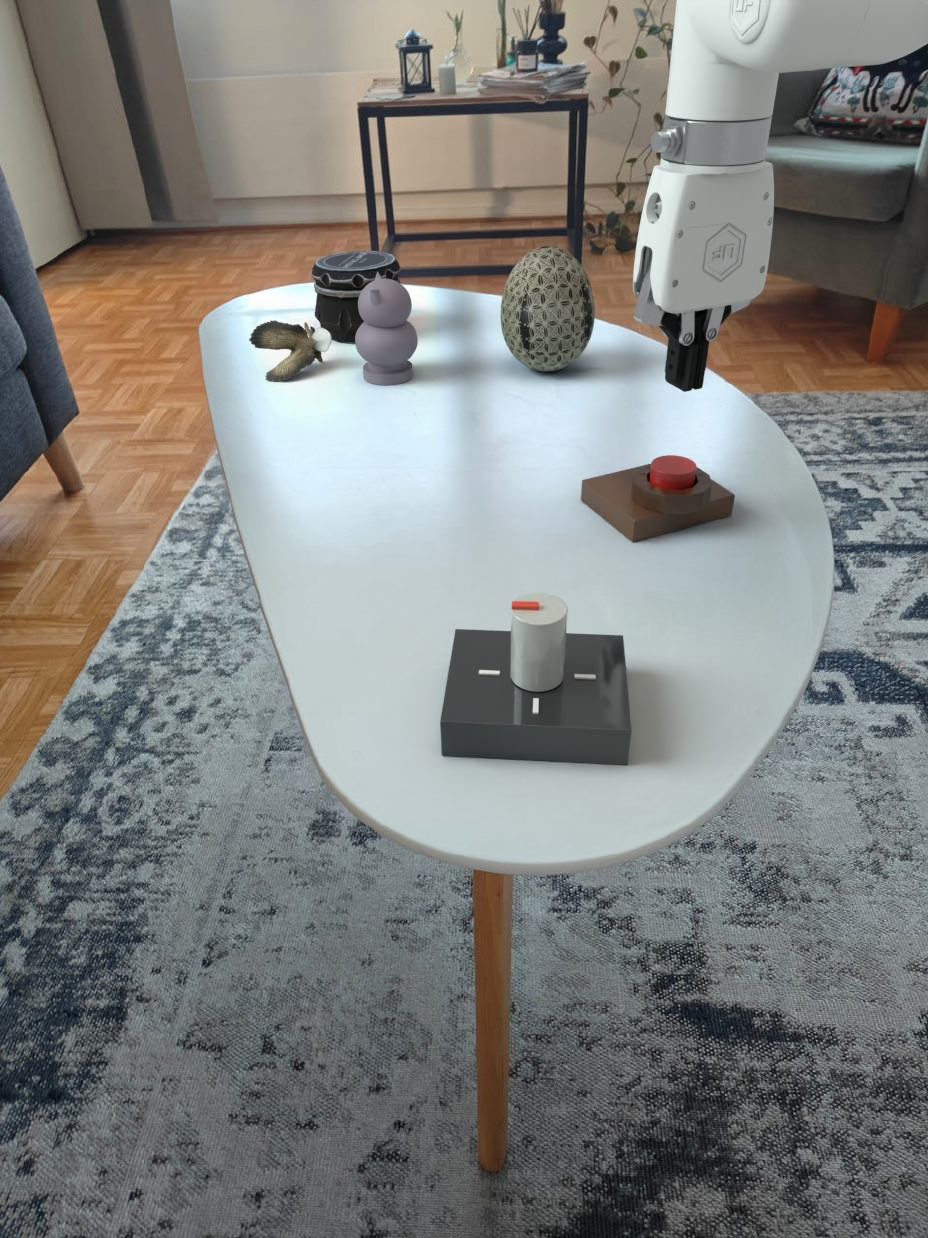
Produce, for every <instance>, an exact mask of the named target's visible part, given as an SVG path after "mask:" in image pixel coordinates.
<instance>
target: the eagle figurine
mask: <svg viewBox="0 0 928 1238" xmlns="http://www.w3.org/2000/svg"><path fill="white" fill-rule="evenodd" d="M248 341H249V342H250V344H251V345H253V346H254V348H255V349H262V350H273V351H274V350H275V351H279V350H289V351H290V353H289V354H288V356H287V357H285V358H284V359H283V360H281V361H280V362H279V363H278V364H277V365H276V366H275V367H274V368H273V367H272V369H270V370H268V371H267V372H265V375H264V377H265V380H266V381H268V382H271V381H272V382H277V381H278V382H281V381H286V380H287V381H288V380H289V379H291V378H293V377H294V376H297V373H299V372H300V371H301V370H303V369H304V368H306V367H309V366H312V364H313V363H314V362H315V361H316V360H317V362H318V363H321V364H323V363H324V360H323V357H322V353H327V351H328V350H329V348H330V346H331V344H332V338H331V335H330V332H328V331H327V330H326V329H324V328H321V326H320V327H317V328H315V327H314V326H309V324H308V323H307V321H304V323H303V326H302V325H300V323H296V324H290V323H288V322H282V321H278V320H270V321H266V322H263V323H260V324H259V325H257V326H255V328H254V329H253V330H252V332H251V333H250V337H249V339H248Z"/></svg>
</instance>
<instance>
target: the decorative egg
mask: <svg viewBox="0 0 928 1238" xmlns="http://www.w3.org/2000/svg"><path fill="white" fill-rule="evenodd" d="M595 307H596V305H595V299H594V293H593V288H592V283H591V282H590V279H589V276H588V273H587V272H586V270H585V268H584V267H583V266H582V264H581V262H579V260H578V259H577V258H576V257H575V256H574V255H572V254H571V253H570V252H568V251H567V250H565V249H563V248H560V247H558V246H553V245H545V246H544V245H543V246H539V247H536V248H534V249H532V250H529V251H528V252H527V253H526V254H525V255H523V256H522V257H521V258H520V259H519V261H518V262H517V263H516V264H515V265H514V267H513V268H512V270H511V271H510V273H509V275H508V278H507V280H506V282H505V285H504V288H503V292H502V296H501V303H500V327H501V332H502V336H503V340H504V342H505V345H506V346H507V348H508V350H509V351H510V354H512V355H513V357H514V358H515V359H516V360H517V361H518V362H520V363H521V364H522V365H524V366H525V367H527V368H530V369H532V370H535V371H539V372H555V371H559V370H562V369H564V368H566V367H568V366H569V365H571V364H573V363H574V362H575V361H576V360H578V358H579V357H580V356H581V355H582V354H583V352H584V351H585V350H586V348H587V347H588V345H589V342H590V341H591V338H592V336H593V331H594V326H595V318H596V317H595V316H596V309H595Z"/></svg>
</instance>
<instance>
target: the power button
mask: <svg viewBox="0 0 928 1238" xmlns="http://www.w3.org/2000/svg"><path fill="white" fill-rule="evenodd" d="M650 464H651V470H650V479H649V480H650V483H651V484H652V485H654V486H655V487H659V488H663V489H667V490H684V489H688V488H692V487H693V486H694V482H695V475H696V468H697V467H698V466H697V464H696V462H695V461H694V460H693V459H690V458H688V457H686V456H681V455H675V454H671V455H670V454H667V455H662V456H661V455H660V456H657V457H655V458H654V459H653V460H652V461H651V462H650Z"/></svg>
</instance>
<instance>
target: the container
mask: <svg viewBox="0 0 928 1238" xmlns="http://www.w3.org/2000/svg"><path fill="white" fill-rule="evenodd" d="M377 271H378V273H379V275H380V276H381V278H382V279H391V280H394V281H397V282H398V283H400V284H401V280H400V279H401V278H400V277H399V276H400V273H401V271H402V267H401V265H400V262H399V261H398V260H397V258H396V256H395V255H393V254H391V253H387V252H383V251H382V252H381V251H377V250H376V251H375V250H361V251H359V250H354V251H343V252H335V253H331V254H327V255H325V256H321V257H319V258H317V259H316V260H315V261H314V264H313V266H312V267H311V273H310V276H311V278H312V279H313V280H314V283H313V289H314V292H315V293H316V298H315V307H314V308H315V309H314V317H315V319H316V320H317V321H318V322H319V326H320V328H324V329H326V330H327V331H328V332H330V335H331V340H333V341H335V342H337V343H346V344H355V336H356V332H357V330H358V328H359V327H360V326H361V324H362V323H363V322H364V321H363V319H362V318H361V316H360V313H359V309H358V299H359V295H360V293H361V291H362V290H363V289H364V288H365V286H366V285H368V284H369V283H371V282H372V281H374V280H375V277H376V274H377Z"/></svg>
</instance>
